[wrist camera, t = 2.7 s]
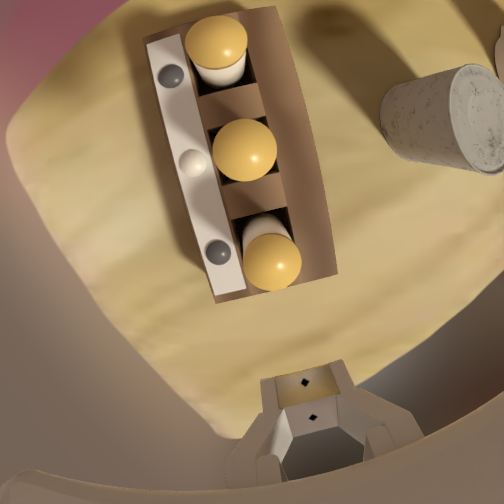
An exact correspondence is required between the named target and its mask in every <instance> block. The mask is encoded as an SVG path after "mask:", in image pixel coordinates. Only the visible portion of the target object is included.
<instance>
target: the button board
mask: <svg viewBox="0 0 504 504" xmlns="http://www.w3.org/2000/svg"><path fill="white" fill-rule="evenodd" d="M218 16H226V17H230V18H233V19H235V20H236V21H238V22H239V23H240V24H241V25H242V26H243V27H244V29H245V31H246V33H247V48H246V55H245V62H246V65H247V69H248V73H249V76H250V80H251V84H248V85H244V86H239V87H235V88H231V89H227V90H223V91H219V92H215V93H211V94H207V95H204V96H202V92H201V88H200V84H199V80H198V76H197V72H196V68H195V65H194V63H193V61H192V60H191V58H190V57H189V55H188V53H187V51H186V48H185V38H186V35H187V33H188V31H189V30H190V28H191V27H192V26H193V25H194V24H195V23H197V22H198V21H200V20H198V21H194V22H190V23H187V24H183V25H180V26H177V27H173V28H170V29H167V30H164V31H161V32H158V33H155V34H153V35H150V36H147V37H144V38H143V41H144V46H145V50H146V55H147V60H148V64H149V69H150V74H151V78H152V82H153V87H154V91H155V95H156V100H157V104H158V108H159V112H160V116H161V120H162V124H163V128H164V132H165V136H166V140H167V144H168V148H169V151H170V155H171V159H172V162H173V166H174V170H175V173H176V177H177V181H178V184H179V188H180V191H181V195H182V198H183V202H184V205H185V208H186V212H187V215H188V219H189V222H190V225H191V229H192V232H193V235H194V238H195V242H196V245H197V248H198V251H199V254H200V257H201V261H202V264H203V267H204V270H205V273H206V276H207V279H208V282H209V285H210V288H211V291H212V294H213V297H214V300H215V303H216V304H217V303H222V302H226V301H230V300H235V299H239V298H244V297H248V296H252V295H256V294H261V293H265V292H269V291H267V290H263V289H260V288H257V287H256V286H254V285H253V284H252V283H251V282H250V281H249V280H248V279H247V277H246V275H245V273H244V269H243V249H242V245H241V241H240V237H239V234H238V230H237V226H236V222H235V219H236V218H240V217H244V216H248V215H252V214H256V213H261V212H265V211H269V210H273V209H277V208H281V207H282V210H283V215H284V219H285V224H286V228H287V232H288V234H289V236H290V238H291V239H292V241H293V242H294V244H295V245H296V247H297V248H298V250H299V252H300V255H301V260H302V263H301V269H300V272H299V274H298V276H297V278H296V279H295V280H294V281H293V282H292V283H291V284H290V285H288V286H287V287H289V286H293V285H297V284H301V283H305V282H309V281H313V280H317V279H321V278H325V277H329V276H332V275H336V274H338V271H337V264H336V257H335V250H334V243H333V237H332V231H331V224H330V218H329V213H328V207H327V201H326V196H325V191H324V186H323V180H322V175H321V170H320V166H319V161H318V156H317V152H316V147H315V143H314V138H313V134H312V130H311V125H310V121H309V117H308V113H307V109H306V105H305V101H304V98H303V94H302V90H301V86H300V83H299V79H298V76H297V72H296V69H295V65H294V62H293V58H292V55H291V52H290V48H289V45H288V42H287V39H286V36H285V33H284V30H283V26H282V23H281V20H280V18H279V15H278V12H277V9H276V6H269V7H261V8H255V9H248V10H243V11H237V12H232V13H227V14H223V15H218ZM201 20H202V19H201ZM176 34H180V37H181V41H182V46H183V50H184V54H185V58H186V62H187V66H188V70H189V74H190V78H191V82H192V86H193V90H194V94H195V98H196V102H197V106H198V110H199V113H200V117H201V121H202V125H203V129H204V133H205V137H206V141H207V144H208V148H209V152H210V156H211V160H212V163H213V167H214V171H215V175H216V179H217V182H218V186H219V190H220V194H221V197H222V201H223V205H224V208H225V212H226V216H227V220H228V223H229V227H230V231H231V234H232V238H233V241H234V245H235V249H236V252H237V256H238V260H239V263H240V267H241V270H242V274H243V278H244V281H245V285H246V289H242V290H238V291H233V292H229V293H225V294H220V295H216V296H215V294H214V291H213V288H212V285H211V282H210V279H209V276H208V273H207V270H206V267H205V263H204V260H203V257H202V254H201V251H200V248H199V244H198V241H197V238H196V235H195V231H194V228H193V225H192V221H191V218H190V215H189V211H188V208H187V204H186V201H185V198H184V194H183V191H182V187H181V183H180V180H179V176H178V173H177V169H176V165H175V162H174V158H173V154H172V150H171V147H170V143H169V139H168V135H167V131H166V127H165V123H164V119H163V115H162V111H161V107H160V103H159V99H158V95H157V90H156V86H155V82H154V77H153V73H152V68H151V64H150V59H149V55H148V50H147V44H149V43H152V42H155V41H158V40H161V39H164V38H167V37H170V36H173V35H176ZM238 119H252V120H255V121H258V122H260V121H261V122H262V124H263V125H265V126H266V127H267V128H268V129H269V130H270V131H271V133H272V134H273V136H274V138H275V141H276V145H277V155H276V159H275V162H274V164H273V166H272V167H273V169H270V170H269V171H268V172H267V173H266V174H265V175H264V176H262V177H260V178H258V179H256V180H252V181H237V180H234V179H229V180H225V181H224V177H223V173H222V172H221V171H220V170H219V168H218V167H217V165H216V163H215V161H214V158H213V143H214V139H213V135H212V133H215V132H219V131H220V130H221V129H222V128H223V127H224V126H225V125H226V124H228V123H230V122H232V121H234V120H238Z"/></svg>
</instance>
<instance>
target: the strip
mask: <svg viewBox="0 0 504 504" xmlns="http://www.w3.org/2000/svg"><path fill="white" fill-rule="evenodd" d="M147 50H148V55H149V59H150V64H151V68H152V73H153V77H154V82H155V86H156V90H157V95H158V99H159V103H160V107H161V111H162V115H163V119H164V123H165V127H166V131H167V135H168V139H169V143H170V147H171V150H172V154H173V158H174V162H175V165H176V169H177V173H178V176H179V180H180V183H181V187H182V191H183V194H184V198H185V201H186V204H187V208H188V211H189V215H190V218H191V221H192V225H193V228H194V231H195V235H196V238H197V241H198V244H199V248H200V251H201V254H202V257H203V260H204V263H205V267H206V270H207V273H208V276H209V279H210V282H211V285H212V288H213V291H214V294H215V296H216V295H220V294H225V293H229V292H233V291H238V290H242V289H246V285H245V281H244V278H243V274H242V270H241V267H240V263H239V260H238V256H237V252H236V249H235V245H234V241H233V238H232V234H231V231H230V227H229V223H228V220H227V216H226V212H225V208H224V205H223V201H222V197H221V194H220V190H219V186H218V182H217V179H216V175H215V171H214V167H213V163H212V160H211V156H210V152H209V148H208V144H207V141H206V137H205V133H204V129H203V125H202V121H201V117H200V113H199V110H198V106H197V102H196V98H195V94H194V90H193V86H192V82H191V78H190V74H189V70H188V66H187V62H186V58H185V54H184V50H183V46H182V41H181V37H180V34H176V35H173V36H170V37H167V38H164V39H161V40H158V41H155V42H152V43H149V44H147Z"/></svg>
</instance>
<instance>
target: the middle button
mask: <svg viewBox="0 0 504 504" xmlns="http://www.w3.org/2000/svg"><path fill="white" fill-rule="evenodd" d="M276 155H277V145H276V141H275V138H274V136H273V134H272V133H271V131H270V130H269V129H268V128H267V127H266V126H265V125H263V124H262V123H260V122H258V121H255V120H252V119H238V120H234V121H232V122H230V123H228V124H226V125H225V126H224V127H223V128H222V129H221V130H220V131H219V132H218V134H217V135H216V137H215V140H214V143H213V158H214V161H215V163H216V165H217V167H218V168H219V170H220V171H221V172H222V173H223V174H224V175H226V176H227V177H229V178H231V179H234V180H237V181H252V180H256V179H258V178H260V177H262V176H264V175H265V174H266V173H267V172H268V171H269V170H270V169H271V167H272V166H273V164H274V162H275V159H276Z"/></svg>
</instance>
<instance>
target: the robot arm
mask: <svg viewBox="0 0 504 504" xmlns="http://www.w3.org/2000/svg"><path fill="white" fill-rule="evenodd" d="M495 63H496V68H497V72H498V76H499V79H500V81H501V83H502V84H503V85H504V26H501V36H500V38H499V39H498V41H497V42H496V45H495ZM260 385H261V395H262V405H263V413H259V414H258V416H257V417H256V419H255V420H254V422H253V423H252V425H251V426H250V428H249V429H248V430H247V432H246V433H245V435H244V436H243V438H242V439H241V441H240V442H239V443H238V445H237V446H236V447H235V449H234V450H233V452H232V453H231V454H230V456H229V457H228V458H227V465H226V468H227V469H226V490H212V491H157V490H156V491H155V490H141V489H130V488H121V487H113V486H106V485H100V484H94V483H88V482H83V481H78V480H72V479H69V478H64V477H60V476H56V475H52V474H49V473H45V472H41V471H38V470H35V469H26V470H24V471H22V472H20V473H19V474H17V475H16V476H14V477H13V478H11V479H10V480H8V481H7V482H5V483H4V484H3V485H2V486H1V488H0V504H504V391H503V392H502V393H501V394H499V395H498V396H496V397H495V398H493V399H492V400H490V401H489V402H487V403H486V404H484V405H482V406H481V407H480V408H478V409H476V410H475V411H473V412H471V413H469V414H468V415H466V416H464V417H463V418H461V419H459V420H457V421H456V422H454V423H452V424H450V425H448V426H446V427H444V428H442V429H441V430H439V431H437V432H435V433H432V434H431V435H428V436H426V437H424V435H423V433H422V432H421V430H420V428H419V426H418V424H417V423H416V421H415V419H414V417H413V416H412V414H411V412H409V411H407V410H405V409H403V408H401V407H398V406H396V405H394V404H392V403H390V402H388V401H386V400H384V399H382V398H379V397H378V396H376V395H373V394H372V393H370V392H368V391H365V390H363V389H362V388H357V389H356V388H355V386H354V383H353V381H352V379H351V377H350V375H349V373H348V370H347V368H346V366H345V364H344V362H343V360H341V359H340V360H337V361H334V362H330V363H328V364H324V365H320V366H317V367H313V368H310V369H306V370H302V371H298V372H294V373H289V374H285V375H280V376H275V377H272V378H266V379H261V381H260ZM335 426H339V427H340V428H341V429H343V430H344V431H345V432H347V433H348V434H349V435H351V436H352V437H354V438H355V439H356V440H358V441H359V442H360V443H362V444H363V445H365V449H364V460H363V462H361V463H358V464H355V465H352V466H349V467H346V468H342V469H339V470H335V471H332V472H328V473H324V474H320V475H316V476H311V477H307V478H303V479H298V480H293V481H288V480H287V477H286V475H285V472H284V470H283V467H282V465H281V462H282V460H283V458H284V456H285V454H286V452H287V450H288V448H289V446H290V444H291V442H292V439H293V437H296V436H300V435H304V434H308V433H311V432H315V431H319V430H323V429H327V428H330V427H335Z"/></svg>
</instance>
